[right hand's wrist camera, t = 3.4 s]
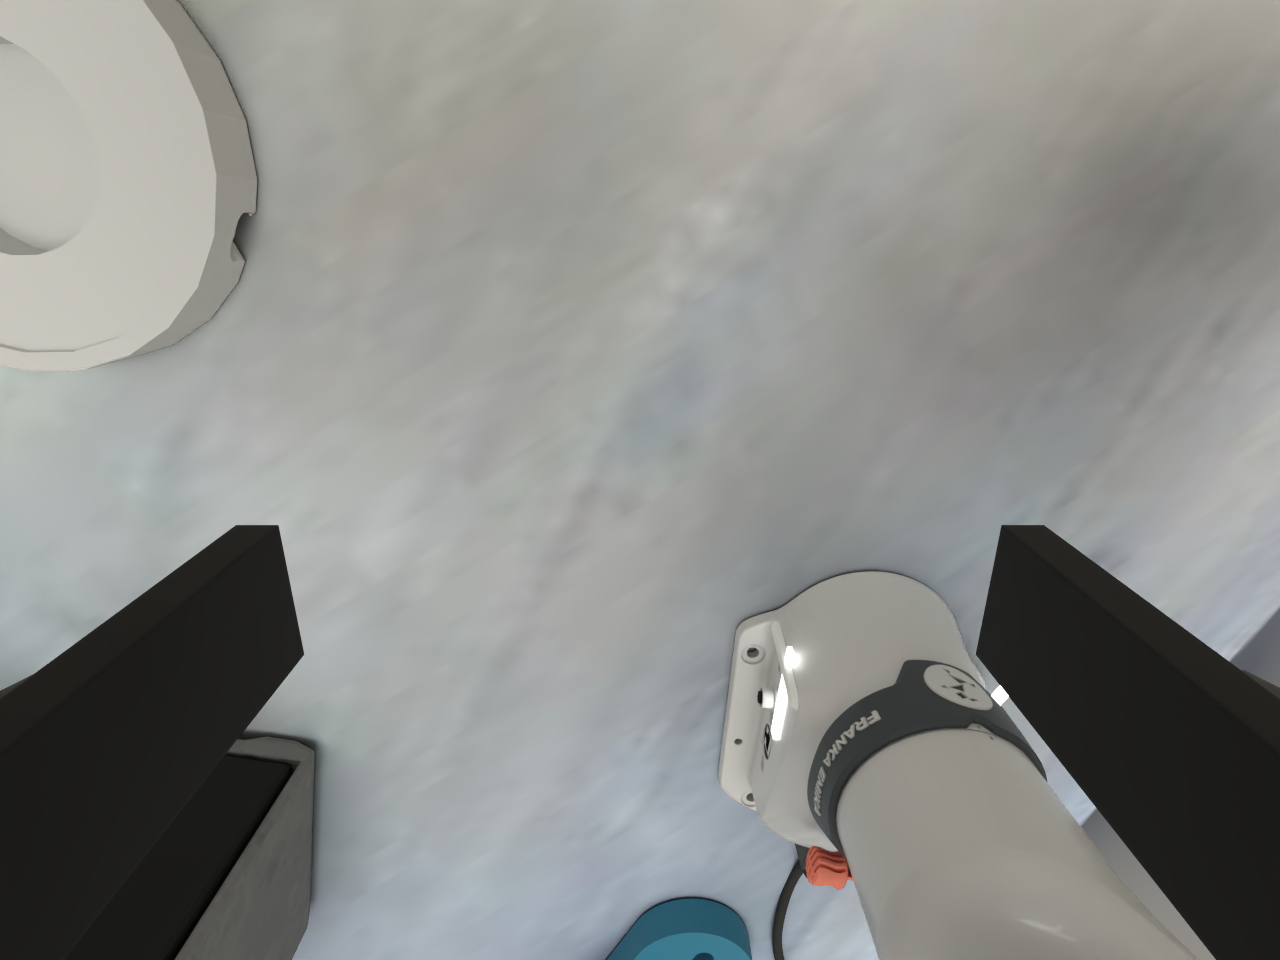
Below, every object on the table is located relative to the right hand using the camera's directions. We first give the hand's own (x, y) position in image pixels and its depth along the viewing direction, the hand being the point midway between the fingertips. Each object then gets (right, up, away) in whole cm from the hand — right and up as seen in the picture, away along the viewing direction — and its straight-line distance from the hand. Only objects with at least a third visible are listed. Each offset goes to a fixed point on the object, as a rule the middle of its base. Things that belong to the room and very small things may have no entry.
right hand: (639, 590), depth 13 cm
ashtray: (-33, +20, +26) cm, 47 cm away
